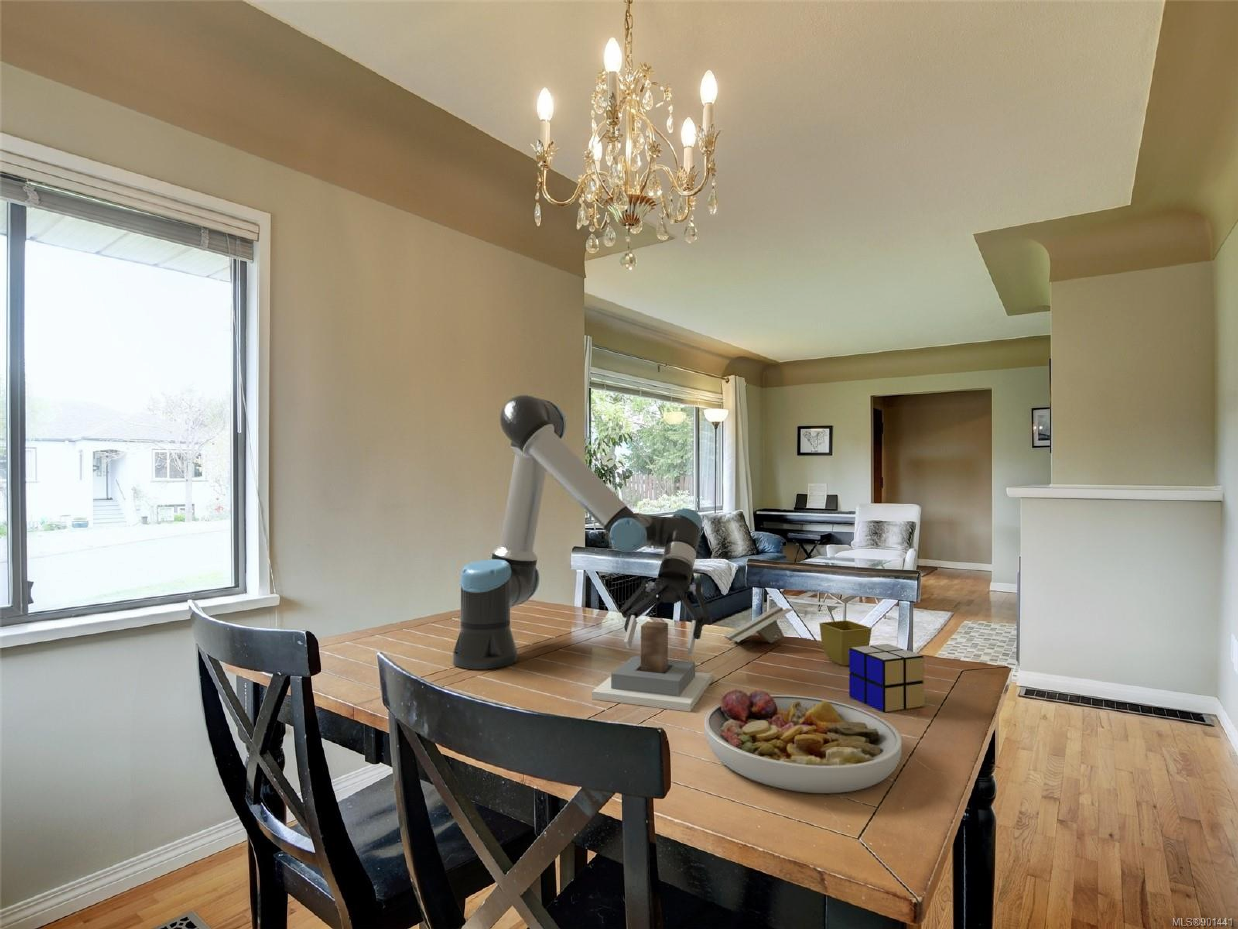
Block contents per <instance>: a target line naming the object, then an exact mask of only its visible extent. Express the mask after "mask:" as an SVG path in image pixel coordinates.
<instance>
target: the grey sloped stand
mask: <svg viewBox="0 0 1238 929" xmlns="http://www.w3.org/2000/svg"><path fill="white" fill-rule="evenodd" d="M794 610H795V609H793V608H791V607H790V608H788V607H787V608H785V609H783V607H782V606H779V605H778V606H777V605H776V606H775V607H773V608H771V609H769V610H767V611H766V612H763V613H761V614H760V615H759V616H757V617H755V618H753V619H752V620H750V621H748V622H747V623H744V624H742V625H741V626H739V627H737V628H735V629H734V630H732V631H730V632H728V633H726V634H725V635H724V636H723V637H725V638H728V640H729V641H731V643H739V642H741V641H743V640H744V639H746V638H747V637H749V636H751V635H753V634H754V633H756V634H758V635H759V636H760V637H761V638H762V639H763V640H764V641H766V642H767V643H769V644H773V643H774V642H776V641H778V640H780V639H781V638H784V636H785V635H784V633H783V631H782V629H781V627H780V626H779V624H778V622H777V620H779V619H780V618H782V617H784V616H786V615H787V614H788V613H790V612H793V611H794ZM736 630H739V631H736ZM775 636H777V637H775Z"/></svg>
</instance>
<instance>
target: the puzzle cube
mask: <svg viewBox="0 0 1238 929" xmlns="http://www.w3.org/2000/svg"><path fill="white" fill-rule="evenodd" d="M924 662H925V657H924V656H923V655H922V654H920V653H916V652H914V651H911V650H908V649H904V648H901V647H899V646H896V645H892V644H889V643H881V644H871V645H869V646H861V647H852V648H850V649H849V665H848V671H849V675H848V677H849V678H848V681H849V682H848V685H849V686H848V687H849V688H848V691H849V692H848V694H849V695H848V697H850V698H852V699H854V700H856V701H858V702H860V703H862V704H864V705H867V706H869V707H870V708H873V709H875V710H877V711H880V712H882V713H885V714H886V713H893V712H898V711H904V710H911V709H918V708H923V707H925V682H924V680H925V679H924V678H925V677H924V671H925V664H924Z"/></svg>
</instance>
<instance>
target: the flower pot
mask: <svg viewBox="0 0 1238 929" xmlns="http://www.w3.org/2000/svg"><path fill="white" fill-rule="evenodd" d="M819 632H820V639H821V645H822V648H823V651H824V653H825V654H826V656H827V658H828V660H829V661H831V662H833V663H836V664H838V665H840V666H843V667H845V666H849V649H850V648H852V647H861V646H870V644H871V643H870V642H871V638H872V637H871V635H872V627H869V626H867V625H864V624H860V623H857V622H854V621H851V620H835V621H825V622H824V621H822V622H819Z"/></svg>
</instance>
